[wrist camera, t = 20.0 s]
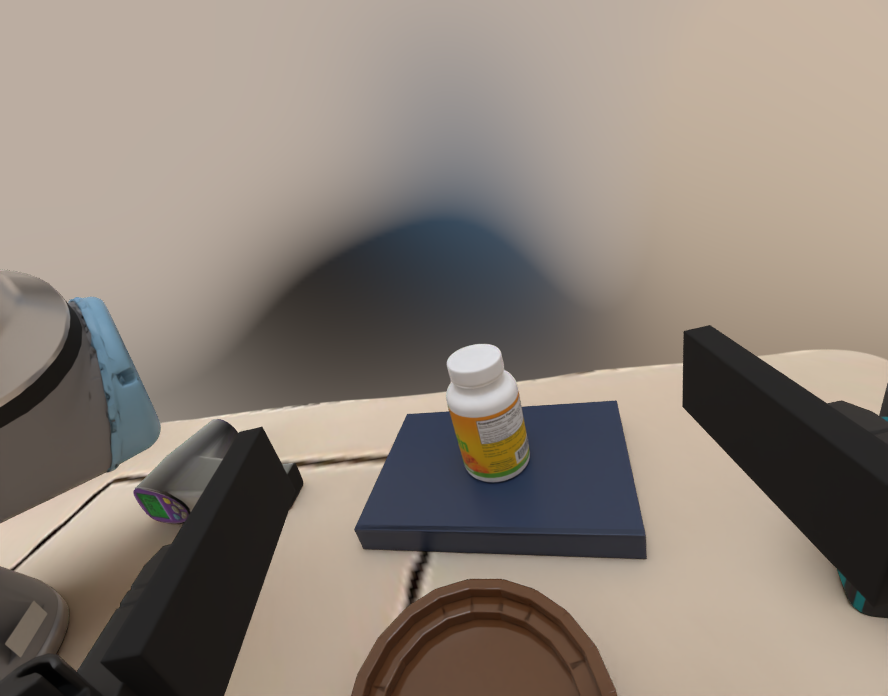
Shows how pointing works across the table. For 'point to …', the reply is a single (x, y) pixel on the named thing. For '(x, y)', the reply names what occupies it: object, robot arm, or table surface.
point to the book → (511, 490)
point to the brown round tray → (484, 647)
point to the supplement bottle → (486, 414)
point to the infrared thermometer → (192, 474)
